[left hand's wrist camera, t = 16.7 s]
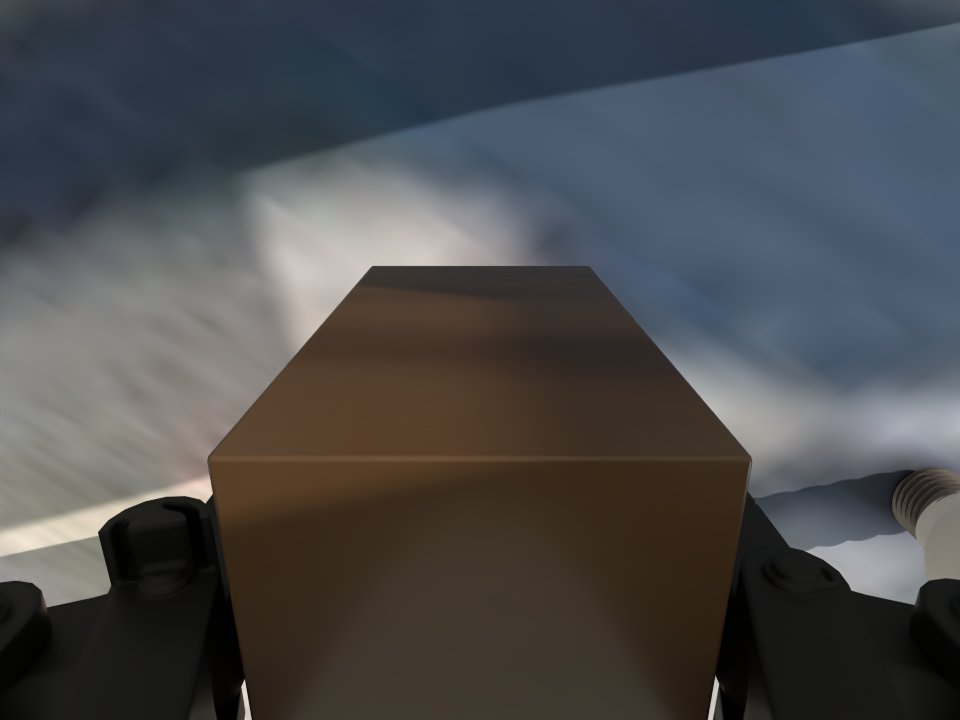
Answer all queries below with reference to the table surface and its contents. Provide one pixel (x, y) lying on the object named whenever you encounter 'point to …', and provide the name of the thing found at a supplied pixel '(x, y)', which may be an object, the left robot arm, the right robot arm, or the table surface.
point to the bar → (479, 510)
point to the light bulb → (932, 518)
